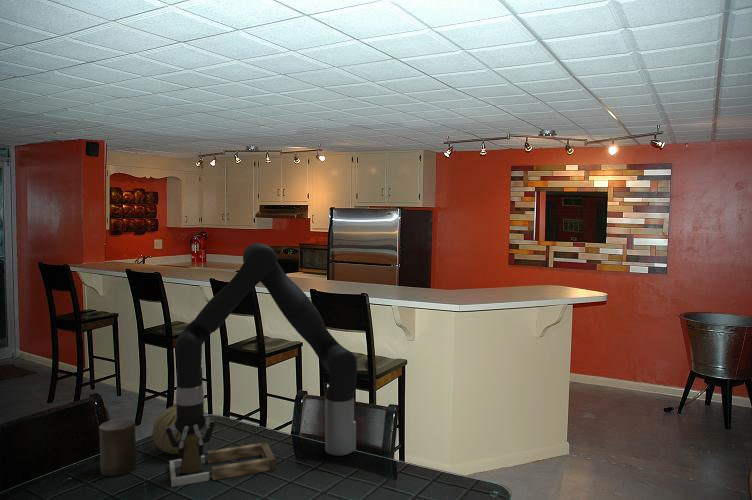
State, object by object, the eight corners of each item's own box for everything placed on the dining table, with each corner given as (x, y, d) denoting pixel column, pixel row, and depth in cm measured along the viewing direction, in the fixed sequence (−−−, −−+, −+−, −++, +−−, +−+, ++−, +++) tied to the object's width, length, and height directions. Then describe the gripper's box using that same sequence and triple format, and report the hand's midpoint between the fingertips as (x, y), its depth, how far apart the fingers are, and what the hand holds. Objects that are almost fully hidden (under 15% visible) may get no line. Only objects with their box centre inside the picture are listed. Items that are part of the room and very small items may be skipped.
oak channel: (266, 451, 174) (266, 442, 174) (275, 469, 162) (275, 459, 162) (207, 460, 167) (207, 451, 167) (212, 480, 155) (212, 469, 155)
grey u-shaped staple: (204, 461, 167) (204, 455, 167) (209, 480, 155) (209, 473, 155) (169, 467, 163) (169, 460, 163) (171, 486, 151) (171, 479, 151)
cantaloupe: (146, 450, 174) (145, 404, 173) (190, 438, 184) (190, 395, 183) (164, 466, 163) (163, 417, 162) (210, 452, 173) (209, 406, 172)
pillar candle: (142, 468, 162) (141, 419, 161) (107, 480, 154) (106, 427, 154) (128, 459, 168) (127, 411, 168) (94, 469, 161) (93, 419, 160)
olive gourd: (195, 474, 155) (194, 436, 155) (176, 472, 157) (175, 435, 156) (206, 465, 161) (205, 428, 161) (187, 463, 162) (186, 427, 162)
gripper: (214, 393, 164) (214, 449, 165) (163, 399, 158) (164, 457, 159) (217, 401, 157) (217, 459, 158) (164, 407, 152) (165, 467, 152)
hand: (190, 457), depth 159 cm, fingers closed on olive gourd, 4 cm apart
